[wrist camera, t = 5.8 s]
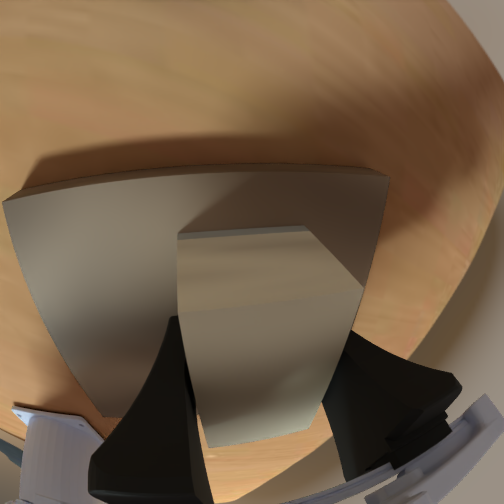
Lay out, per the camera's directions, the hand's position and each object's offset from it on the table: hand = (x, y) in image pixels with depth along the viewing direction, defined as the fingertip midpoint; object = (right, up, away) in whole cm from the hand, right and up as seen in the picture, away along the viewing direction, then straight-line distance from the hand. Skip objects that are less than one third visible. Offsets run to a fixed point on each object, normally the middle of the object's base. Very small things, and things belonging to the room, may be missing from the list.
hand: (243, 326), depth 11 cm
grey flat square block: (-2, 0, +2) cm, 3 cm away
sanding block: (0, 0, 0) cm, 0 cm away
